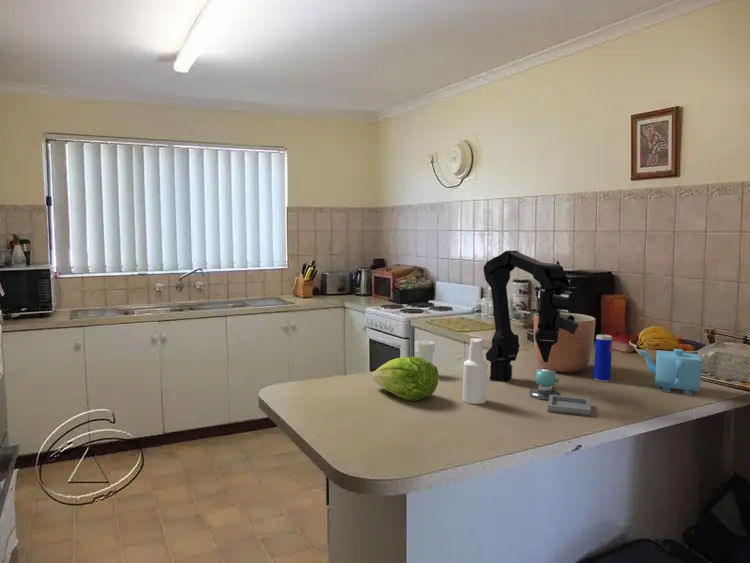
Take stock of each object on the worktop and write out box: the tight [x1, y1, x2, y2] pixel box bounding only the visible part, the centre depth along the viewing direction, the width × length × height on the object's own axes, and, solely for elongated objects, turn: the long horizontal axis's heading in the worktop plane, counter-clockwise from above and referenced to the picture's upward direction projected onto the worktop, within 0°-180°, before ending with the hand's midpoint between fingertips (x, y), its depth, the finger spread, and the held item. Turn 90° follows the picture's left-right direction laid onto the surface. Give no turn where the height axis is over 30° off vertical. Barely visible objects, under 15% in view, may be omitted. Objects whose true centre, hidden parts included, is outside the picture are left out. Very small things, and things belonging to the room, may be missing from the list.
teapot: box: [637, 348, 703, 395], centre depth 186 cm, size 18×16×13 cm
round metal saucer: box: [528, 384, 562, 401], centre depth 176 cm, size 9×9×4 cm
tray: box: [547, 395, 592, 418], centre depth 164 cm, size 11×11×2 cm
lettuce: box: [372, 356, 439, 402], centre depth 174 cm, size 13×22×14 cm
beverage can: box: [593, 334, 613, 383], centre depth 195 cm, size 5×5×15 cm
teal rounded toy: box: [535, 368, 560, 386], centre depth 175 cm, size 7×6×4 cm
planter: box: [533, 312, 596, 374], centre depth 209 cm, size 21×21×19 cm
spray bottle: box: [462, 337, 489, 405], centre depth 169 cm, size 7×7×18 cm
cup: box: [414, 340, 436, 364], centre depth 199 cm, size 7×7×11 cm
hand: (546, 358), depth 175 cm, fingers open, 9 cm apart
